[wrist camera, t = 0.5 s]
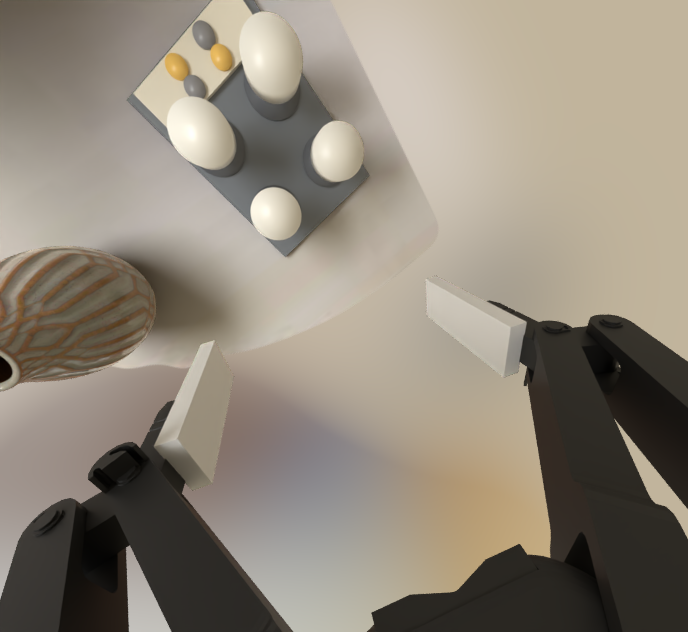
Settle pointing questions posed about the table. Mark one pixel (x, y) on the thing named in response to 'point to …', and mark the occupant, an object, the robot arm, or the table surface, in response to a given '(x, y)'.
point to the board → (245, 119)
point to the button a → (201, 133)
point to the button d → (337, 151)
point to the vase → (69, 313)
